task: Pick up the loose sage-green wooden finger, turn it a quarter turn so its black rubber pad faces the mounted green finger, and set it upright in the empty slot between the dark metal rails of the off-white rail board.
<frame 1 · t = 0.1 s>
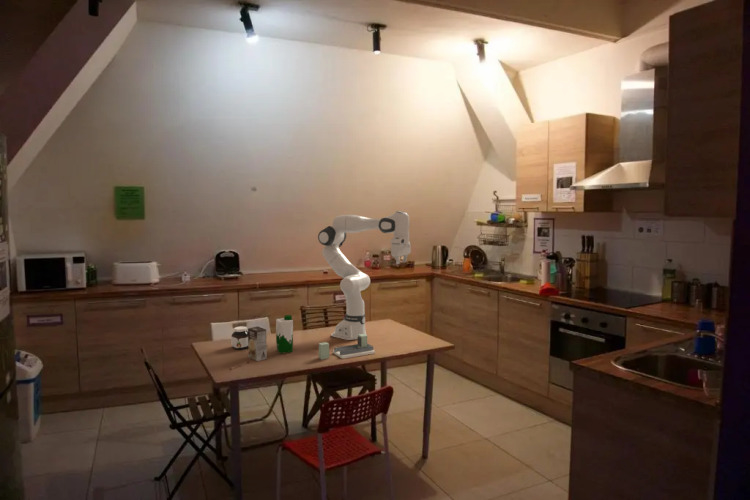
hand: (401, 263, 296), 48 cm above the table, tool pointing down, fingers open, 8 cm apart
spread jar: (244, 347, 291), on the table
coffee box: (257, 358, 271), on the table
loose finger: (323, 358, 272), on the table
milk carton: (284, 351, 284), on the table
rail board: (353, 353, 281), on the table
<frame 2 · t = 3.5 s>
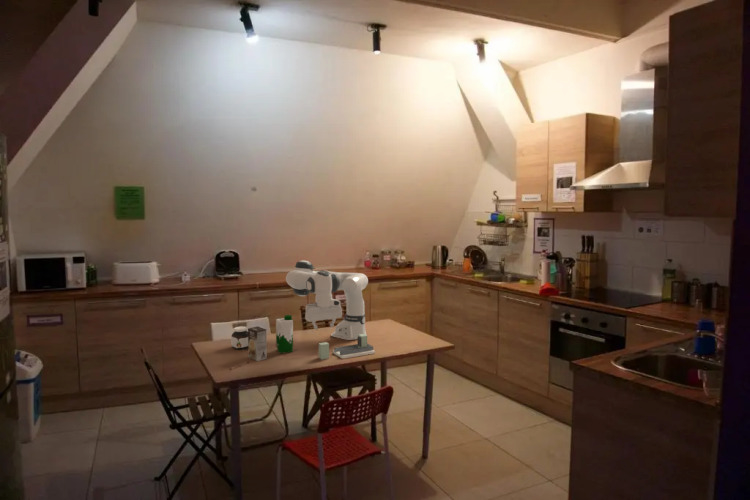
hand: (323, 327, 270), 17 cm above the table, tool pointing down, fingers open, 8 cm apart
nothing on the table moved.
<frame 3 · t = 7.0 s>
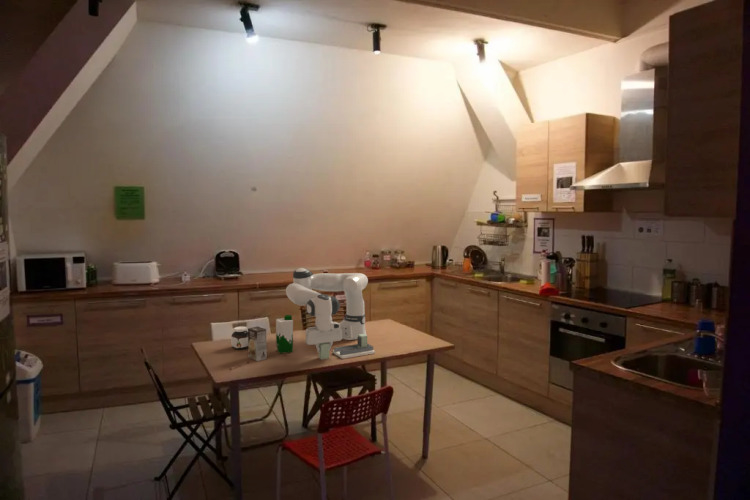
hand: (323, 350, 272), 4 cm above the table, tool pointing down, fingers closed on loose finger, 4 cm apart
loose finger: (323, 358, 272), on the table, touching gripper
everything else where it was.
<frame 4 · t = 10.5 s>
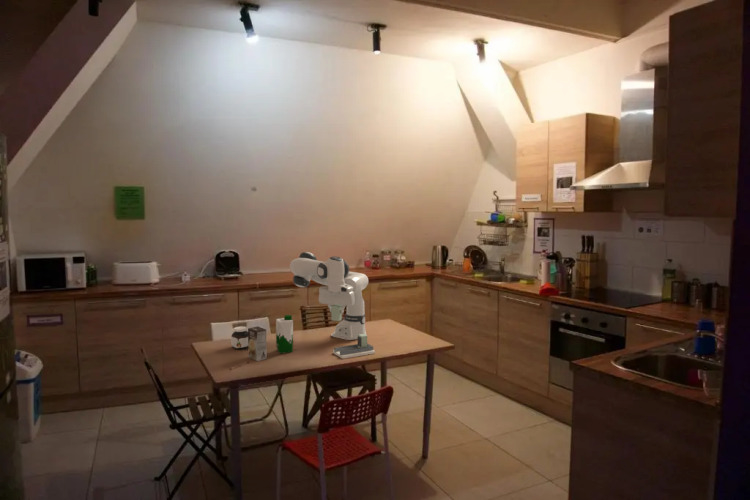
hand: (336, 312, 273), 24 cm above the table, tool pointing down, fingers closed on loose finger, 4 cm apart
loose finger: (336, 320, 273), point 20 cm above the table, touching gripper
everything else where it was.
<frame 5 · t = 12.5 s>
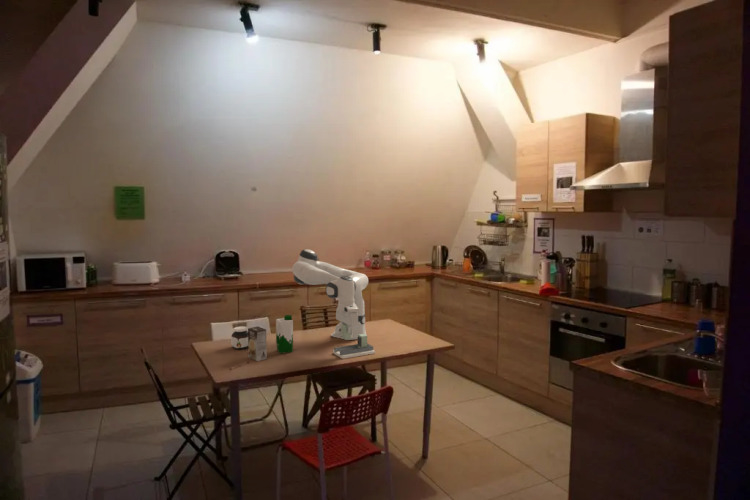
hand: (346, 331, 277), 13 cm above the table, tool pointing down, fingers closed on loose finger, 4 cm apart
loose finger: (346, 338, 278), point 9 cm above the table, touching gripper
everything else where it was.
when the fingers open (7 cm above the table, at t = 14.3 s): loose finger drops 1 cm, resting on rail board.
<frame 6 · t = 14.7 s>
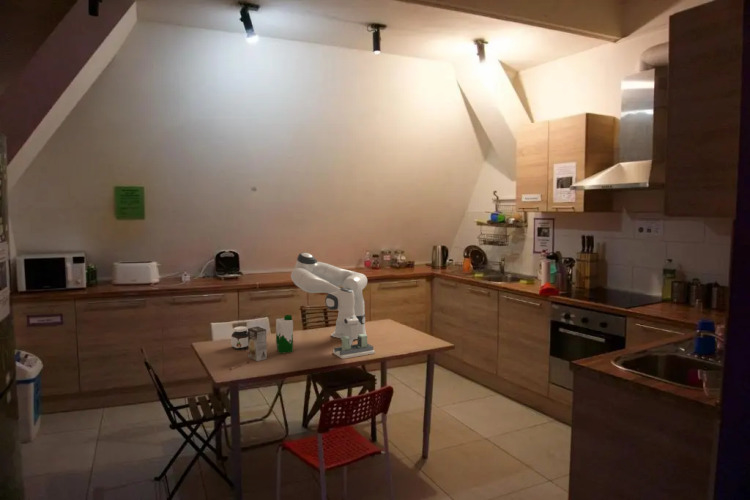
hand: (346, 342, 278), 7 cm above the table, tool pointing down, fingers open, 8 cm apart
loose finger: (346, 351, 278), point 1 cm above the table, touching rail board
everything else where it was.
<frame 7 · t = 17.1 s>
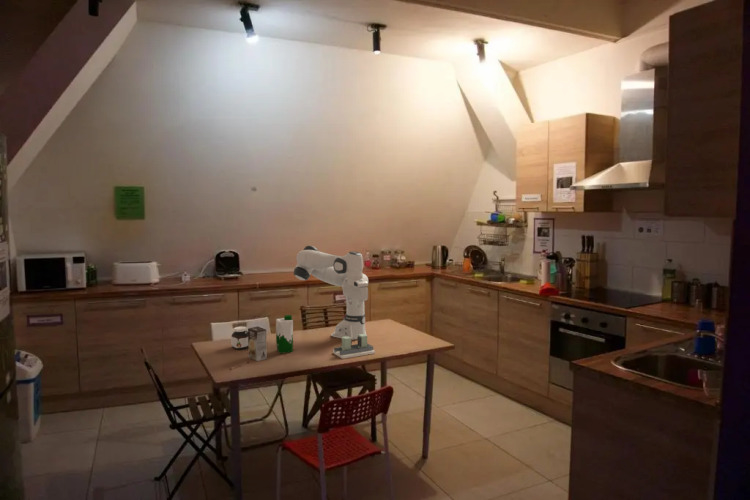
hand: (354, 306, 279), 26 cm above the table, tool pointing down, fingers open, 8 cm apart
nothing on the table moved.
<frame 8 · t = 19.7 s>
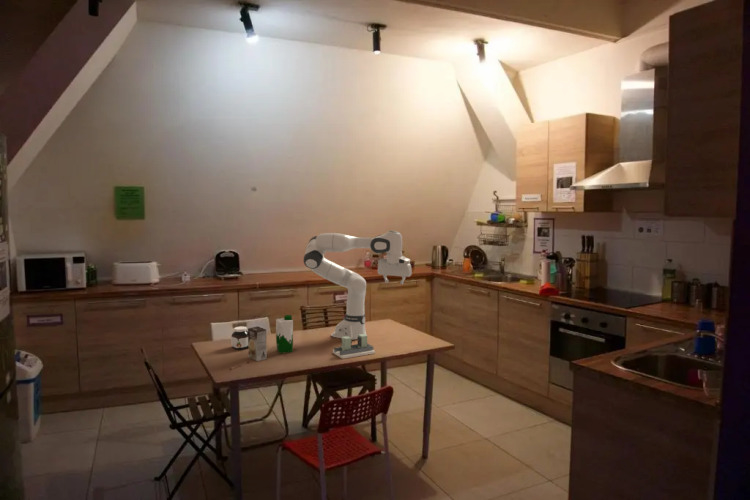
hand: (394, 283, 290), 37 cm above the table, tool pointing down, fingers open, 8 cm apart
nothing on the table moved.
at the end: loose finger 0.1 cm from the target spot on the rail board, point 1.5 cm above the rail board's base; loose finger tilted 0°; the gripper is holding nothing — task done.
